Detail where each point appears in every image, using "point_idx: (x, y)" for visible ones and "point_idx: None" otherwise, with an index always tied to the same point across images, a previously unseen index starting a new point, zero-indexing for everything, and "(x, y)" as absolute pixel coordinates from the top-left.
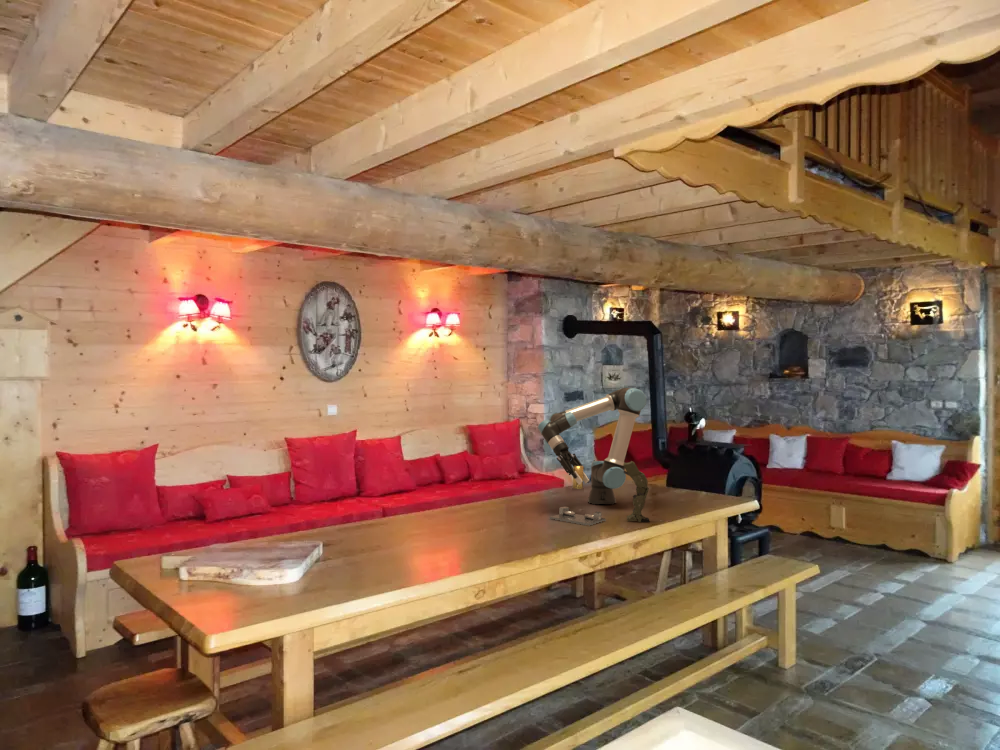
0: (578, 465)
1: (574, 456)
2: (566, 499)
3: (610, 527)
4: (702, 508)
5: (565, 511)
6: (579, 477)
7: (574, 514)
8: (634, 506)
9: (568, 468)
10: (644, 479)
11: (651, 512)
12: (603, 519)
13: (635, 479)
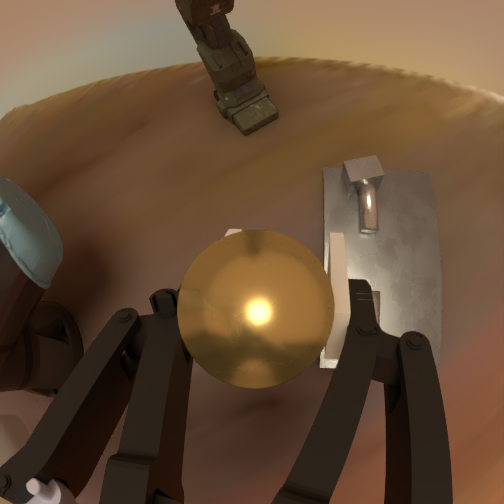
0: (187, 344)
1: (40, 473)
2: None
3: (389, 120)
4: (44, 115)
5: None
6: (342, 256)
7: None
8: (252, 72)
9: (432, 363)
10: None
11: (109, 149)
12: (338, 168)
13: None
